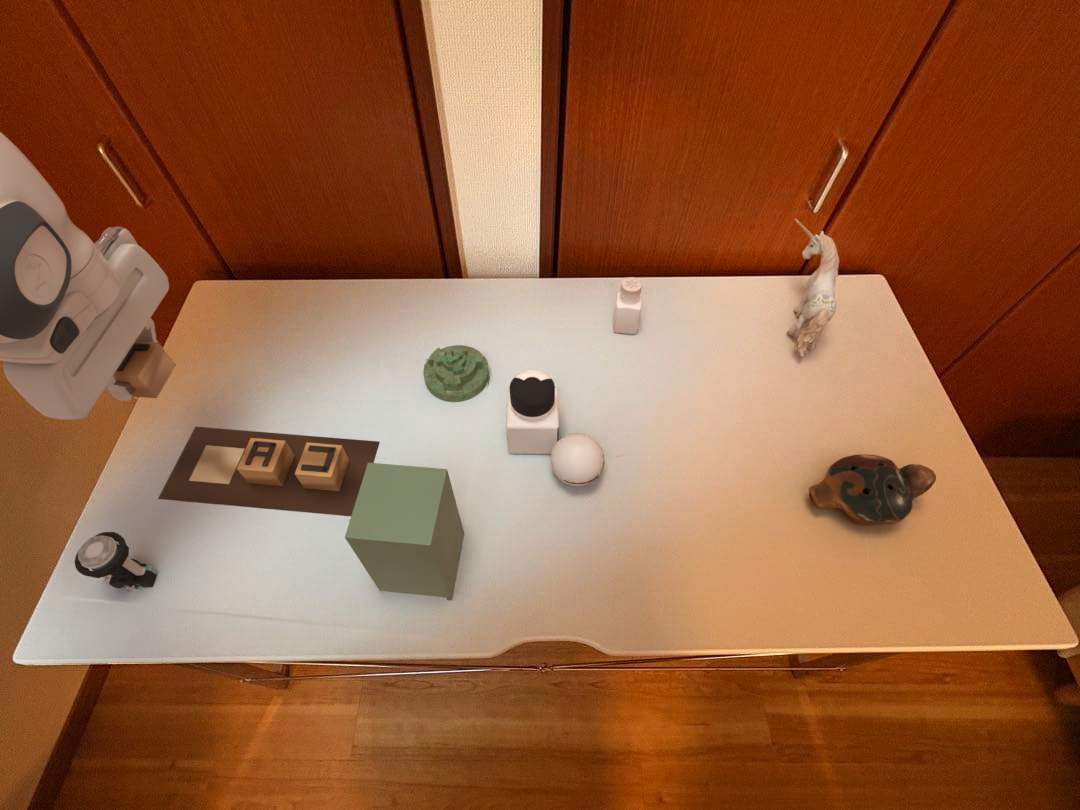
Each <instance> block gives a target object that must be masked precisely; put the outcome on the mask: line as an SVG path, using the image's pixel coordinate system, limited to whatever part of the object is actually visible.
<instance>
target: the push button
mask: <svg viewBox="0 0 1080 810" xmlns="http://www.w3.org/2000/svg"><path fill="white" fill-rule="evenodd" d="M129 554H130V546H128V544H127V543H126V540H125V538H124V537H123V536H122V535H121V534H120V533H117V532H114V531H104V532H100V533H98V534H95V535H93V536H92V537H89V539H87V540H86V541H85V542H84V543H83V544H82V545H81V546H80V548H79V549H78V550H77V553H76V554H75V558H74V567H75V569H76V571H77V572H78V573H79V574H81V575H83V576H86V577H90V578H93V579H101V578H102V579H101V582H103V583H104V582H108V585H109V586H111V587H113V588H115V589H121V588H122V586H125V589H126V590H127V591H138V588H136V586H139V587H142V588H154V585H155V583H156V580H157V578H158V574H159V571H158V569H156V568H155V567H154V566H150V565H147V563H142V562H140V561H139V560H137V559H135V558H130V557H129ZM106 578H107V579H106Z"/></svg>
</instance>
